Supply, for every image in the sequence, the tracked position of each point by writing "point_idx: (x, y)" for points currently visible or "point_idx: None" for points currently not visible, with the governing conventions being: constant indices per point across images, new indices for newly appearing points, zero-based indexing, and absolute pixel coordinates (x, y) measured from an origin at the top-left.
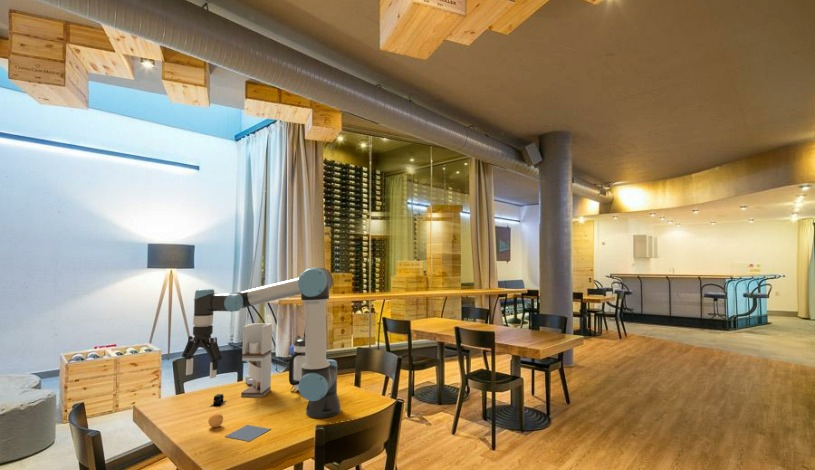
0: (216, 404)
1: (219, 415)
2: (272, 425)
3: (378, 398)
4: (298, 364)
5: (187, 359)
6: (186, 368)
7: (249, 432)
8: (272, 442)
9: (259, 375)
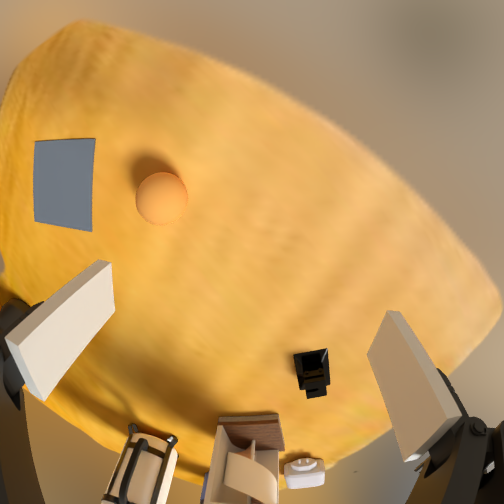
0: (311, 362)
1: (137, 200)
2: (47, 245)
3: (25, 385)
4: (133, 482)
5: (453, 420)
6: (419, 346)
7: (57, 185)
8: (6, 160)
9: (230, 468)
